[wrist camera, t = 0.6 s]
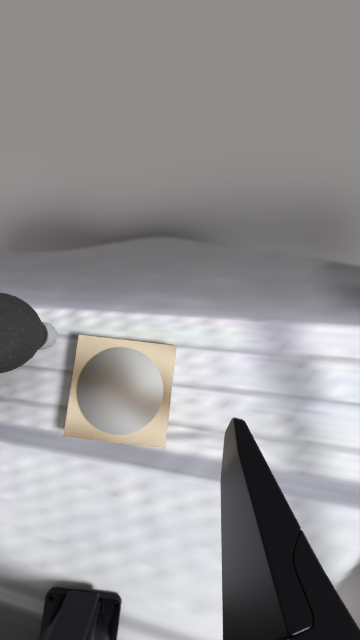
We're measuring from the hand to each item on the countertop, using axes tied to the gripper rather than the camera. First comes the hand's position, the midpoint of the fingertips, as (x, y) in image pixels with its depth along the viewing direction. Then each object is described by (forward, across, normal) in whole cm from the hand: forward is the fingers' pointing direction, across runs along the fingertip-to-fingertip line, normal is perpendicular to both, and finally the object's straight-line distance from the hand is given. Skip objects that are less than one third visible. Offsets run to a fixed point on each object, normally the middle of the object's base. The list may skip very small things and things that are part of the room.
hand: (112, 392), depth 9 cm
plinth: (+10, +2, +11) cm, 16 cm away
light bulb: (+12, +10, +9) cm, 19 cm away
